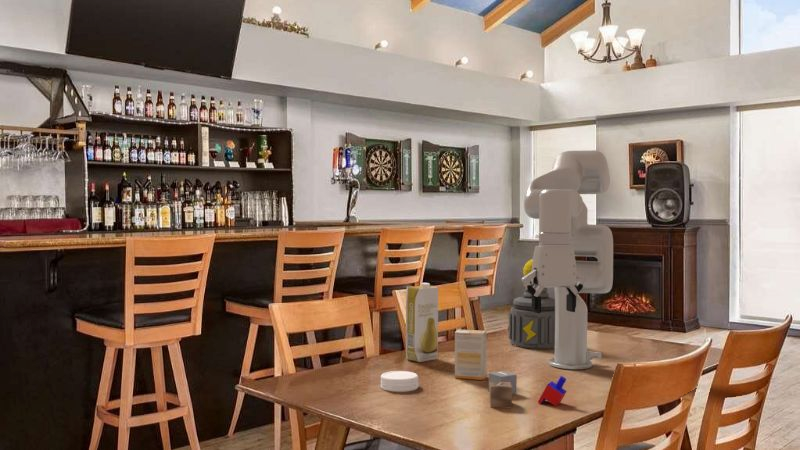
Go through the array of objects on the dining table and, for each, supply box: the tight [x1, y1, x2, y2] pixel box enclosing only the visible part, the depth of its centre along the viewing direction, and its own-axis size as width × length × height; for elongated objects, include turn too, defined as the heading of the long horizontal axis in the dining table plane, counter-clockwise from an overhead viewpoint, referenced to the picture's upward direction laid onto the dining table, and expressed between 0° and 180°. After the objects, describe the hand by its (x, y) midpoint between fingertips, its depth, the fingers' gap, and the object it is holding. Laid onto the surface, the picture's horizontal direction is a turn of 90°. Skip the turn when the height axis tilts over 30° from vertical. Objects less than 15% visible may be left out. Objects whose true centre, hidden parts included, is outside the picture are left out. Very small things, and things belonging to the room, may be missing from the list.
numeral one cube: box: [488, 370, 518, 395], centre depth 179 cm, size 5×5×5 cm
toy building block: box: [537, 376, 567, 407], centre depth 169 cm, size 4×4×8 cm
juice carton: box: [405, 282, 439, 363], centre depth 218 cm, size 9×8×24 cm
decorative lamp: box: [507, 258, 555, 350], centre depth 244 cm, size 19×19×30 cm
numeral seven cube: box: [488, 382, 513, 409], centre depth 168 cm, size 5×5×5 cm
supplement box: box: [454, 329, 488, 381], centre depth 195 cm, size 8×5×13 cm, turn 71°
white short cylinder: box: [380, 370, 419, 393], centre depth 184 cm, size 10×10×4 cm
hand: (553, 311), depth 169 cm, fingers open, 8 cm apart
